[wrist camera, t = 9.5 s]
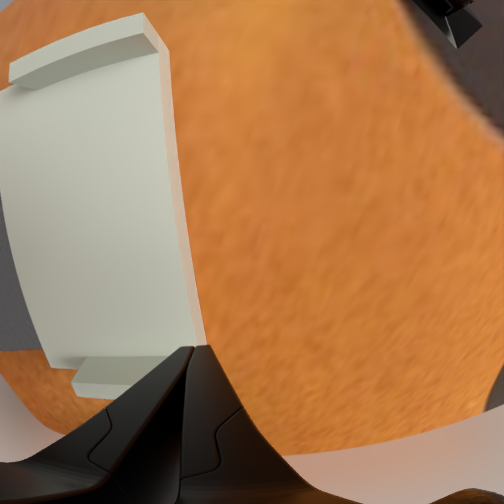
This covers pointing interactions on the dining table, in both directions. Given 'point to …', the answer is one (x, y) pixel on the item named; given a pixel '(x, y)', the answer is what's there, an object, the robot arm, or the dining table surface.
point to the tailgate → (13, 302)
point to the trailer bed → (99, 205)
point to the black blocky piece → (452, 18)
